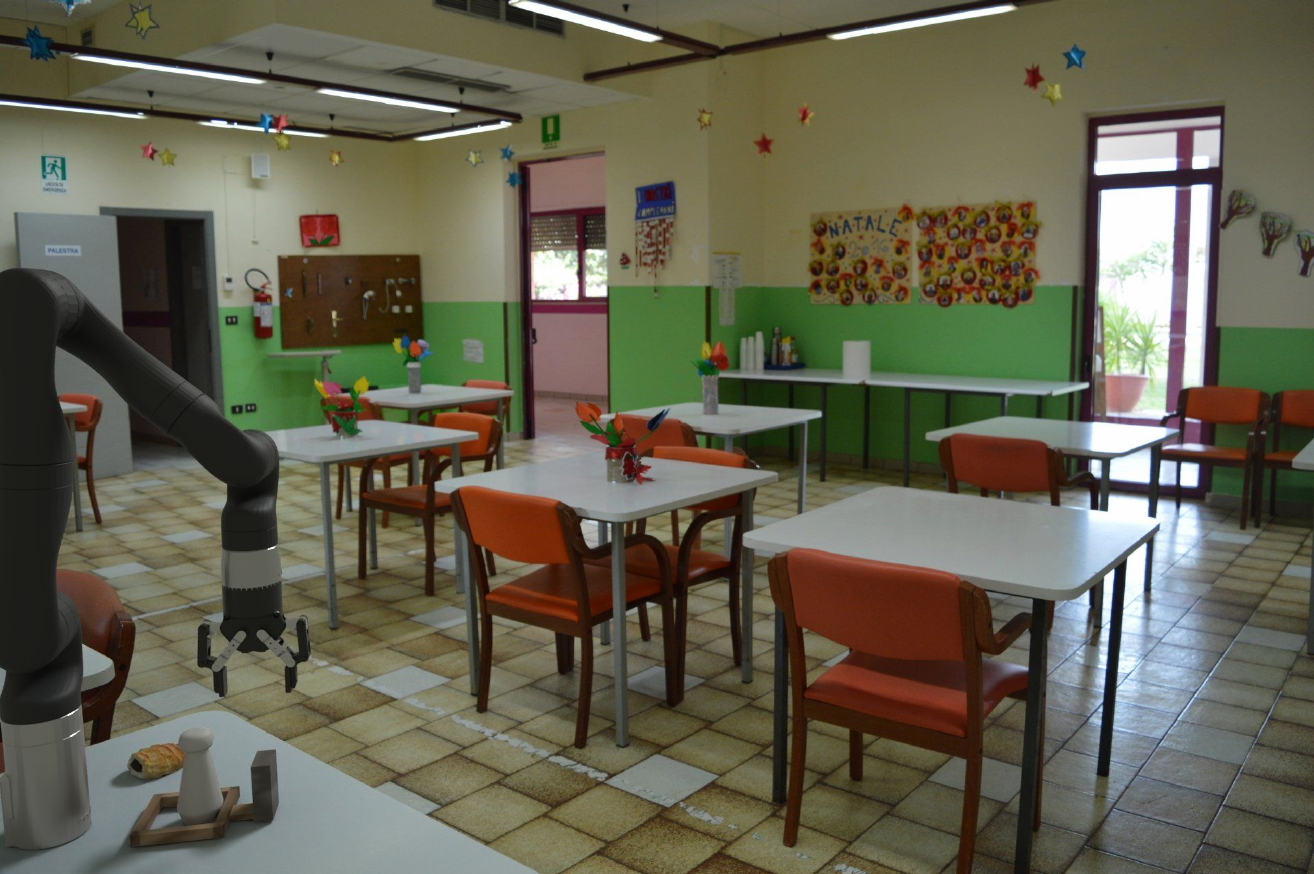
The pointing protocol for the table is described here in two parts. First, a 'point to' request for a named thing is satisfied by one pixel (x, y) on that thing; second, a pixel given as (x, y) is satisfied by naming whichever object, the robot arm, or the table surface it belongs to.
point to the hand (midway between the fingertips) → (256, 693)
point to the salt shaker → (198, 779)
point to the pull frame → (259, 810)
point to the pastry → (156, 761)
